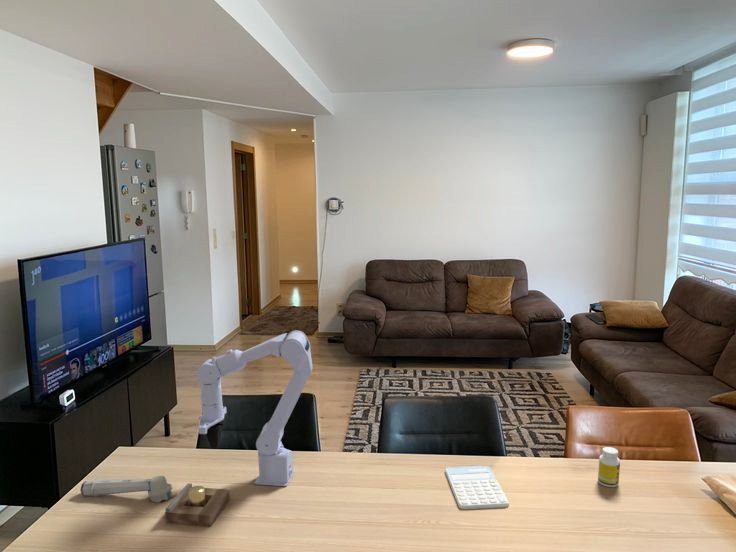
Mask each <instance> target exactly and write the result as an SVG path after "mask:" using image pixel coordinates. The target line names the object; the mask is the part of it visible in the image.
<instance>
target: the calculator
mask: <svg viewBox="0 0 736 552" xmlns="http://www.w3.org/2000/svg"><path fill="white" fill-rule="evenodd" d="M445 475H446V478H447V481H448V482H449V486H450V488H451V490H452V493H453V496H454V498H455V501H456V503H457V506H458V508H459V509H461V510H476V509H477V510H478V509H479V510H480V509H493V508H494V509H499V508H508V507H509V506H510V503H509V499H508V498H507V496H506V494H505V492H504V491H503V490H504V489H502V486H501V485H500V483H499V481H498V480H497V477H496V476H495V474H494V472H493V470H492V469H491V467H490V466H489V465H475V466H474V465H471V466H470V465H468V466H451V467H446V468H445Z"/></svg>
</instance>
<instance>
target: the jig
mask: <svg viewBox="0 0 736 552" xmlns="http://www.w3.org/2000/svg"><path fill="white" fill-rule="evenodd" d="M192 487H193V484H192V483H191V482H190V483H188V482H187V484H186V485H184V487H183V488H182V490H180V492H179V493H178V494H177V495H175V497H174V498H173V500H172V501H170V503H169V504H168V505H167V506H166V508H165V512H164V515H165V517H164V518H165V523H166V524H172V525H173V524H174V525H184V526H196V527H212V526H213V524H214V523H215V521H216V520H217V519H218V517H219V516H220V514H221V513H222V512H223V510H224V509H225V507H226V506H227V504H229V501H230V499H231V498H230V489H224V488H210V487H204V489H205V503H206V505H205V506H204V507H192V506H189V493H188V491H189V489H190V488H192Z"/></svg>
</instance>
